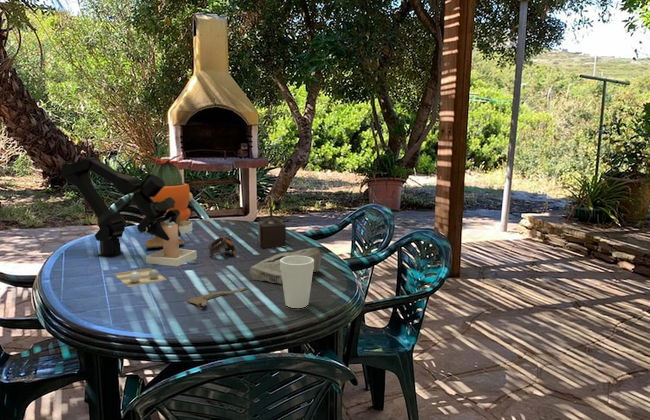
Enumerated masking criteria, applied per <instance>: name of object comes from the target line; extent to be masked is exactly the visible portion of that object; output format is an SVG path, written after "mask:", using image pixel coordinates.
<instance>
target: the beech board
mask: <svg viewBox="0 0 650 420" xmlns="http://www.w3.org/2000/svg"><path fill="white" fill-rule="evenodd" d="M151 270H153V269H152V267H146V268H141V269H135V270H129V271H124V272H118V273H113V275H114V276H115V277H117V279H119V280H120V282H122V283H123V285H125V286H126V287H128V288H130V287H137V286H141V285H142V286H143V285H148V284H152V283H157V282H162V281H163V282H164V281H168V279H167V278H165V277H164V276H163V275H162V274H160V273H159V276H158V277H157V278H155V279H152V278H150V277H149V272H150V271H151ZM134 271H136V272H139V273H140V276H141V277H140V280H139V281H138V282H131V281H130V280H129V275H130V273H131V272H134Z"/></svg>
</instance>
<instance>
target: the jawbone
mask: <svg viewBox="0 0 650 420" xmlns="http://www.w3.org/2000/svg"><path fill="white" fill-rule="evenodd" d="M246 290H248V288H247V287H246V286H245V287H242V288H238V289H234V290H229V291H228V290H227V291H222V290H221V291H216V292H210V293H206V294H203V295H199V296H196V297H190V298H189V299H187V302H188V303H189V304H190V303H191V304H193V305H196V306H197V308H198V309H200V308H201V306H202V307H205V306H206V305H207V304H208V300H211V299H215V298H216V297H219V296H224V295H231V294H235V293H239V292H244V291H246Z"/></svg>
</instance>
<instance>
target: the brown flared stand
mask: <svg viewBox="0 0 650 420" xmlns="http://www.w3.org/2000/svg"><path fill="white" fill-rule="evenodd" d="M167 212H168V211H167ZM167 212H166V213H167ZM166 213H165V214H164V216H165V215H166ZM176 223H177V224H178V228H179V224H180V215H179V216H178V217H177V219H176ZM163 224H164V223H163V222H161V227H162V225H163ZM178 240H179V246H182V245H184V244H185V241H184V240H183V239H180V237H178ZM145 246H146V249H160V248H163V239H162V238H160V237H157V236H155V235H154V237H153V238H150V239H146V240H145Z"/></svg>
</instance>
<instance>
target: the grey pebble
mask: <svg viewBox="0 0 650 420" xmlns="http://www.w3.org/2000/svg"><path fill="white" fill-rule="evenodd" d="M159 274H160V272H159V271H158V269H153V270H151V271H150V272H149V277H150V278H152V279H155V278H157V277H158V276H159Z"/></svg>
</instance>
